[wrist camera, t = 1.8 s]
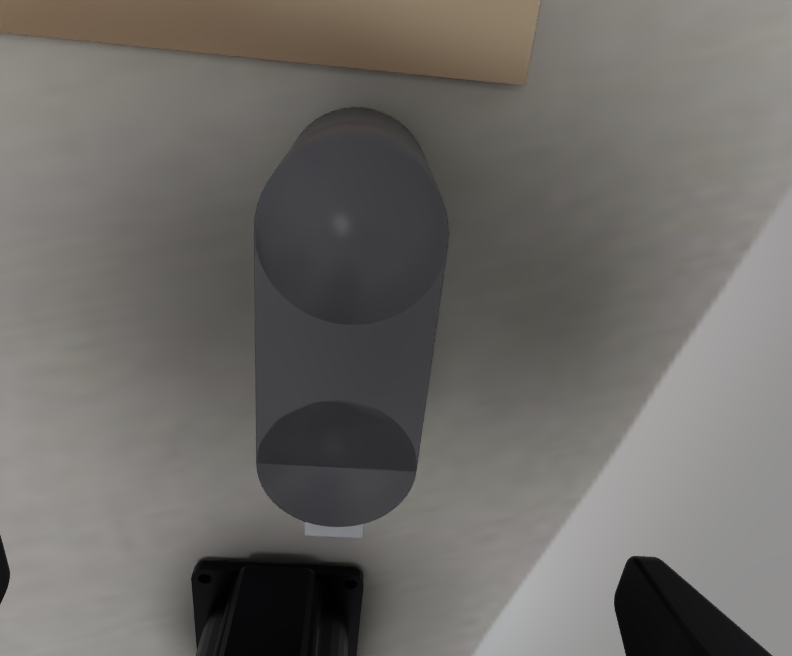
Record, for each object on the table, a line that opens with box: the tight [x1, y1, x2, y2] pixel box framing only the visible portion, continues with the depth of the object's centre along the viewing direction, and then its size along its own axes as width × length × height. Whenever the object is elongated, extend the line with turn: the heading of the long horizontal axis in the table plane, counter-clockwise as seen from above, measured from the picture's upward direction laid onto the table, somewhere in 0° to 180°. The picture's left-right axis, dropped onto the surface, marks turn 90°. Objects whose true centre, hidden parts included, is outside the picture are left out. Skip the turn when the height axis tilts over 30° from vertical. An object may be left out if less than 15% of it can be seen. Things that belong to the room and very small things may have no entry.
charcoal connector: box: [254, 107, 449, 538], centre depth 16 cm, size 12×4×5 cm, turn 175°
